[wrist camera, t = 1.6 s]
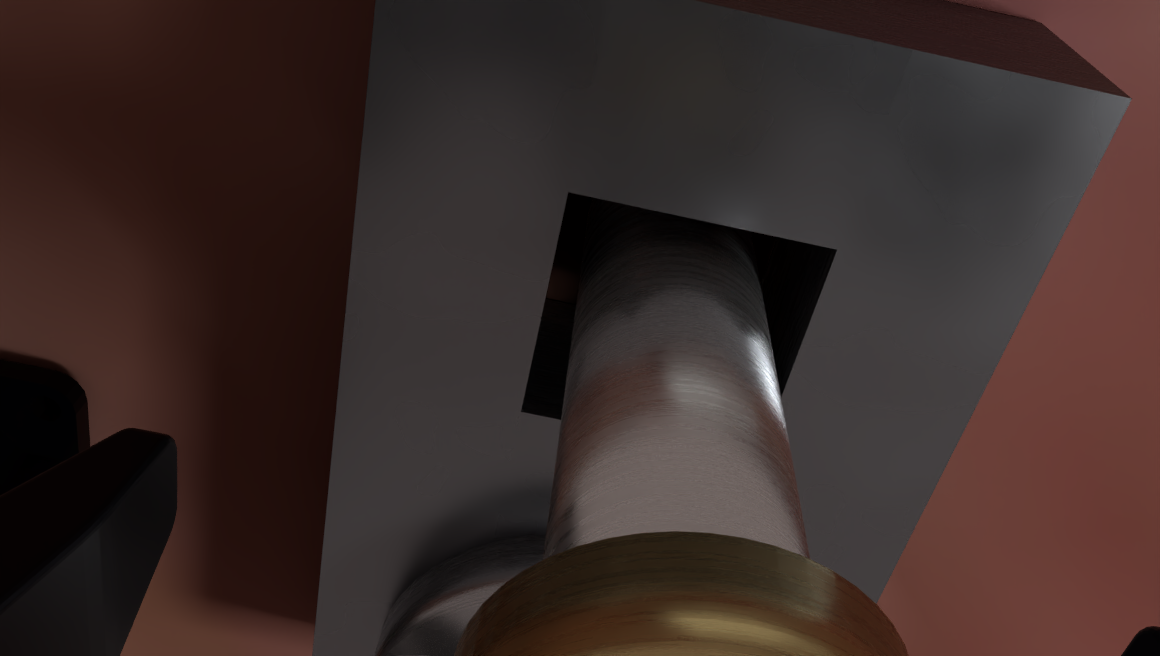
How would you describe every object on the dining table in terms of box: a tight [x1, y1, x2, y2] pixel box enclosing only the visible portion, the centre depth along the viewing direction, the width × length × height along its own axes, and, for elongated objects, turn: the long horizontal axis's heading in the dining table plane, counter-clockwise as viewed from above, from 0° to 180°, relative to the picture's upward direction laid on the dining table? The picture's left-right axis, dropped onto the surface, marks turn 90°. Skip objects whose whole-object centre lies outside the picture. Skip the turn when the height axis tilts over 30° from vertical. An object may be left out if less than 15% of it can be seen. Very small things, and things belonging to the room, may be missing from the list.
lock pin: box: [454, 198, 909, 656], centre depth 11 cm, size 4×4×10 cm
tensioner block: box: [312, 0, 1132, 656], centre depth 15 cm, size 8×14×4 cm, turn 169°
